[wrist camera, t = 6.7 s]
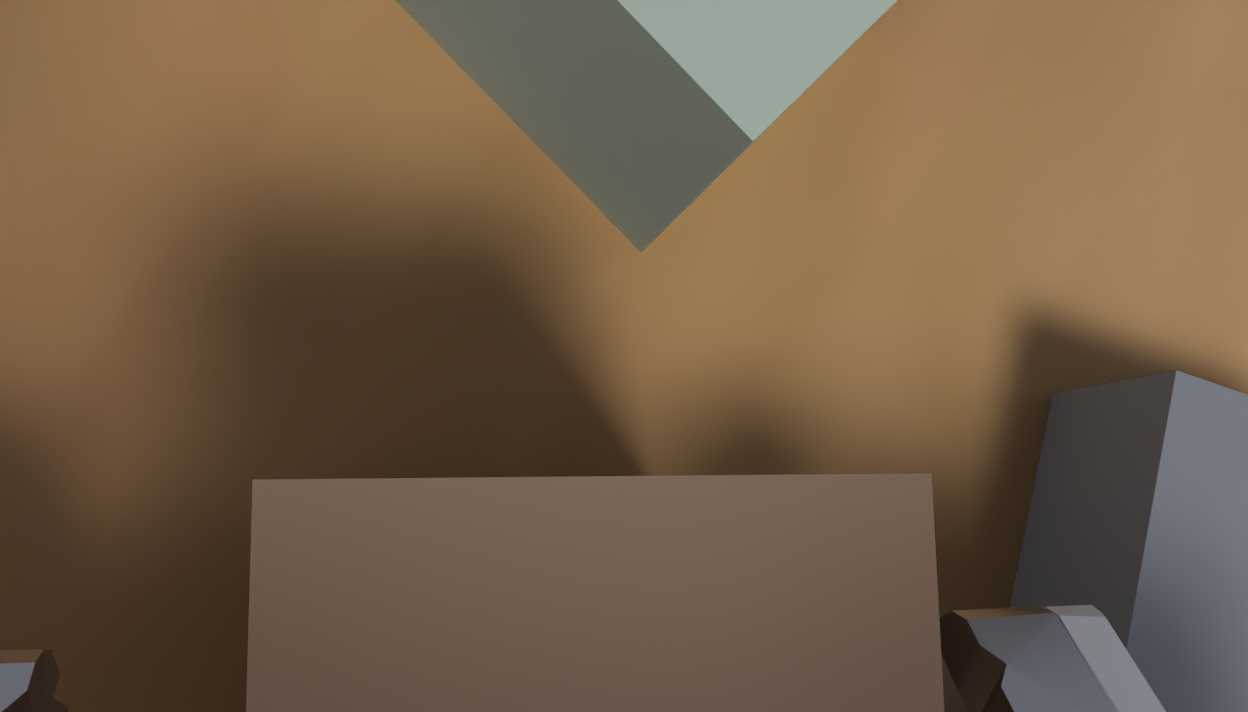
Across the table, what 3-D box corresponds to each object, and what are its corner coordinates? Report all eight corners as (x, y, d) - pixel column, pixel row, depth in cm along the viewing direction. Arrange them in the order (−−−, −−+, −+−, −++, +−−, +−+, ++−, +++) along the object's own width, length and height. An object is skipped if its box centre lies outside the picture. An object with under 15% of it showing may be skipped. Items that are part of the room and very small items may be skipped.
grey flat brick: (1179, 1001, 17) (1351, 1103, 14) (931, 942, 16) (1057, 1037, 13) (1264, 468, 18) (1435, 458, 15) (1042, 395, 17) (1177, 370, 15)
